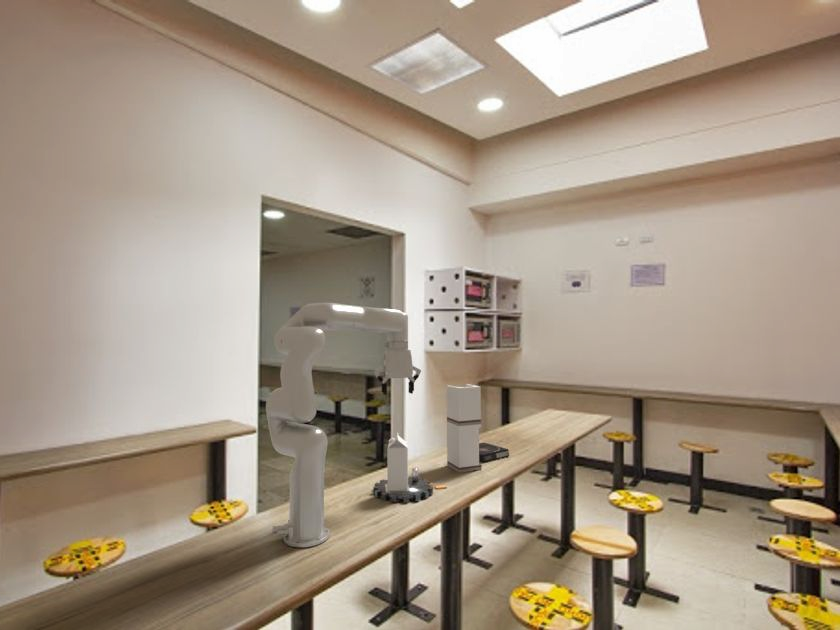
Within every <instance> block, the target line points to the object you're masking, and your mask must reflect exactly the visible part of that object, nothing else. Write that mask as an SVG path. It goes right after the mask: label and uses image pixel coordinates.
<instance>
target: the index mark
mask: <svg viewBox="0 0 840 630" xmlns="http://www.w3.org/2000/svg"><path fill="white" fill-rule="evenodd" d="M434 488H435V490H442V489H443V488H444V489H447V488H448V487H447V485H445V484H442V485H434ZM444 489H443V490H444Z"/></svg>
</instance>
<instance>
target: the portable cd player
mask: <svg viewBox="0 0 840 630" xmlns="http://www.w3.org/2000/svg"><path fill="white" fill-rule="evenodd" d="M508 456H509V457H510V452H509V449H508V448H505V447H503V446H498V445H494V444H491V443H487V442H479V461H480V462H479V463H482V462H483V463H482V464H484V462H485V463H489V462H492V460H494V461H497V460H496V459H498V460H501V459H500V458H502V459H505V458H504V457H506V458H509V457H508ZM488 461H489V462H488Z"/></svg>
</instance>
